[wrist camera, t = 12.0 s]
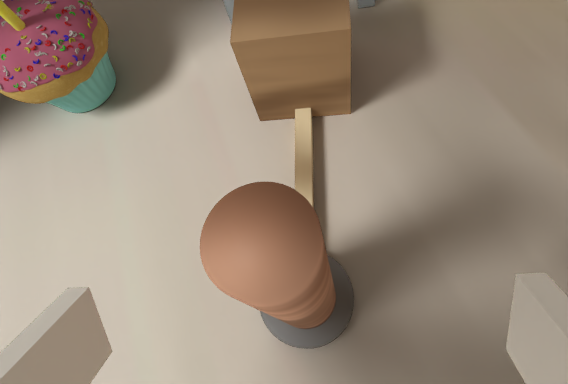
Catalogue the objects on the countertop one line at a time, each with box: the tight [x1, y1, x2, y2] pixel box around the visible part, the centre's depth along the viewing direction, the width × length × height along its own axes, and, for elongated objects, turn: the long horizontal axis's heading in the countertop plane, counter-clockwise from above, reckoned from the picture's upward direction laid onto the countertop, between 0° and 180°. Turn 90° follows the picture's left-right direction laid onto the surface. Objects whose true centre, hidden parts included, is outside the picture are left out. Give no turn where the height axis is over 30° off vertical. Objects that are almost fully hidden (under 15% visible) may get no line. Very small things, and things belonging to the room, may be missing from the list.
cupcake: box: [0, 0, 116, 113], centre depth 24 cm, size 9×8×12 cm
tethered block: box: [200, 0, 354, 348], centre depth 18 cm, size 20×6×12 cm, turn 179°
